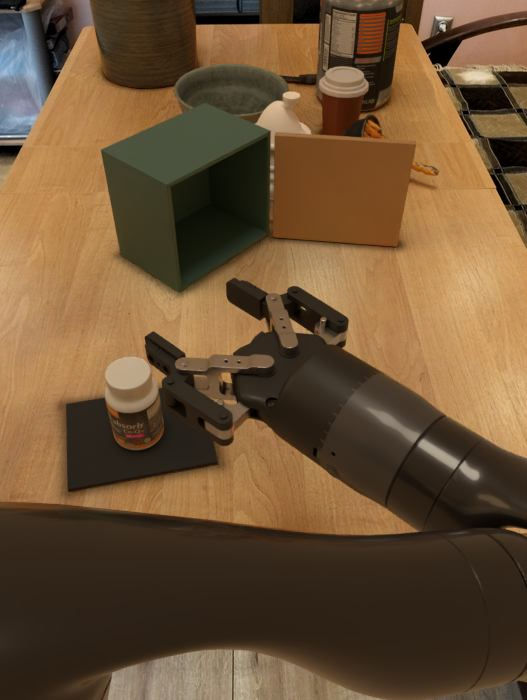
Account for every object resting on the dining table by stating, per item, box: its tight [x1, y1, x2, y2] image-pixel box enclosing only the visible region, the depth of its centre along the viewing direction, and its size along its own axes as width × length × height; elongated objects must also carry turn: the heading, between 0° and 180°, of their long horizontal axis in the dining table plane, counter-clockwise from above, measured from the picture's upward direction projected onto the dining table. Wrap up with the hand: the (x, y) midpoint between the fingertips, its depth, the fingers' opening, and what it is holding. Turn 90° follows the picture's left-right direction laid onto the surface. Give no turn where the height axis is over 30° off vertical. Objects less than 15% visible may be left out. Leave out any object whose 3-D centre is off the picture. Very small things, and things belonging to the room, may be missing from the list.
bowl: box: [173, 63, 290, 124], centre depth 120 cm, size 21×21×10 cm
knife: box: [278, 73, 317, 85], centre depth 142 cm, size 28×2×5 cm
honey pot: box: [255, 91, 312, 221], centre depth 102 cm, size 13×13×18 cm
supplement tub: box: [315, 0, 404, 112], centre depth 127 cm, size 16×16×26 cm
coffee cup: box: [319, 66, 369, 136], centre depth 119 cm, size 9×9×12 cm
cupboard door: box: [272, 132, 417, 248], centre depth 95 cm, size 6×19×17 cm, turn 83°
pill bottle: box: [104, 355, 164, 450], centre depth 69 cm, size 6×6×10 cm
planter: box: [88, 0, 199, 89], centre depth 139 cm, size 22×22×20 cm
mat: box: [65, 387, 219, 493], centre depth 73 cm, size 16×12×1 cm
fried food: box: [342, 113, 440, 177], centre depth 112 cm, size 9×11×18 cm
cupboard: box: [100, 103, 271, 293], centre depth 93 cm, size 13×19×17 cm
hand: (190, 314), depth 50 cm, fingers open, 8 cm apart
